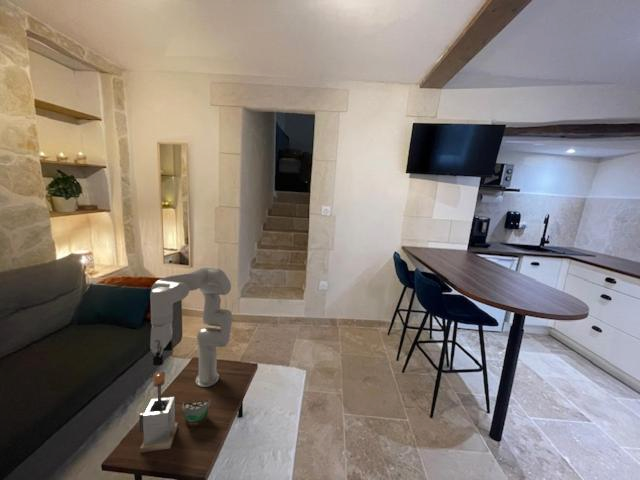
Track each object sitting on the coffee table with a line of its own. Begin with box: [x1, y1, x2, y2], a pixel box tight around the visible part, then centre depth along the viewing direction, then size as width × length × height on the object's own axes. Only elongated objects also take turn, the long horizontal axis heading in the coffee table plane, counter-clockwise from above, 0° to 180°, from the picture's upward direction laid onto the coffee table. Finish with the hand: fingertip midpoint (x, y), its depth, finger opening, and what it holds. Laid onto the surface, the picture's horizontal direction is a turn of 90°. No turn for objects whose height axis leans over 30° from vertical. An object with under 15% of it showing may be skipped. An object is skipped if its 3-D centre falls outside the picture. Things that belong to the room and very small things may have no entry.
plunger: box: [153, 371, 166, 412], centre depth 110 cm, size 5×5×20 cm
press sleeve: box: [139, 396, 176, 446], centre depth 111 cm, size 9×12×14 cm
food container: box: [181, 398, 211, 429], centre depth 121 cm, size 12×6×10 cm, turn 105°
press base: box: [139, 421, 179, 454], centre depth 113 cm, size 11×11×2 cm
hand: (163, 357), depth 107 cm, fingers open, 9 cm apart
